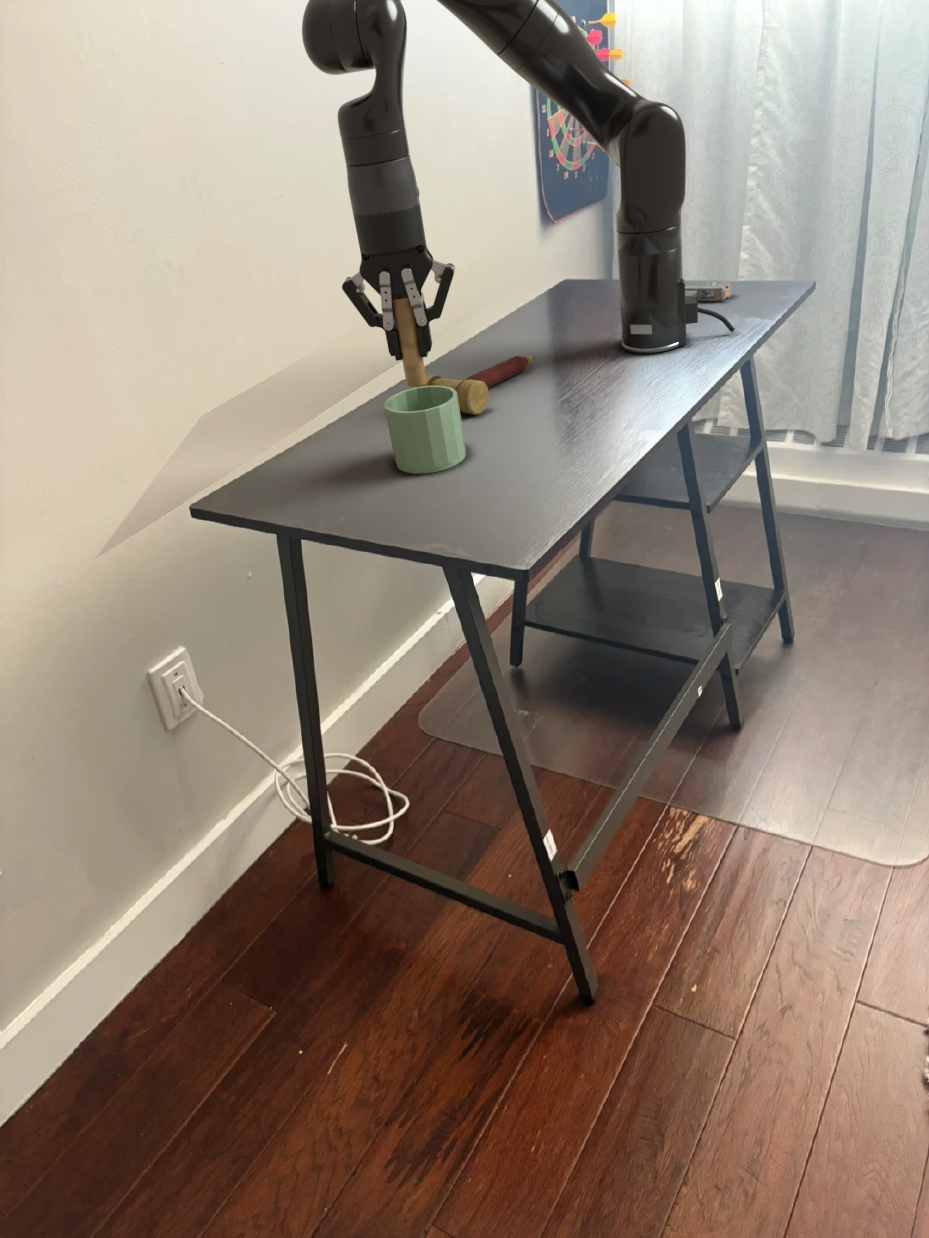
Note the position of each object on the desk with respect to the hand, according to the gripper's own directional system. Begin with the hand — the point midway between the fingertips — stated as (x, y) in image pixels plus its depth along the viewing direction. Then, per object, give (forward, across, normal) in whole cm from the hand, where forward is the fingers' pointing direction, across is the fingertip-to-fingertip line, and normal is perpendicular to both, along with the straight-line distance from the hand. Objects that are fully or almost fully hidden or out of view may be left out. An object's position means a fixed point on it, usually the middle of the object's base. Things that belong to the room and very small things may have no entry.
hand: (412, 356), depth 115 cm
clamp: (+13, +40, +56) cm, 70 cm away
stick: (+3, 0, 0) cm, 3 cm away
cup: (+13, 0, 0) cm, 13 cm away
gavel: (+13, +7, +23) cm, 28 cm away
